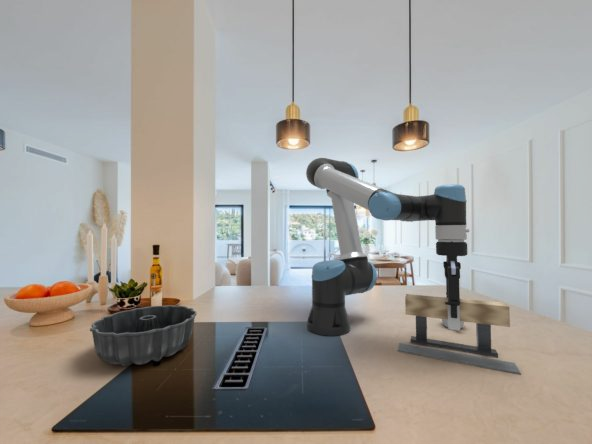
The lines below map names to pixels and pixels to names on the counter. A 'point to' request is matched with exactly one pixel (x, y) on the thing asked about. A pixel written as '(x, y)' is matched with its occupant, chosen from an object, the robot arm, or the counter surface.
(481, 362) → the grey base plate
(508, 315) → the rail
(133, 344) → the bundt pan
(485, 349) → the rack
